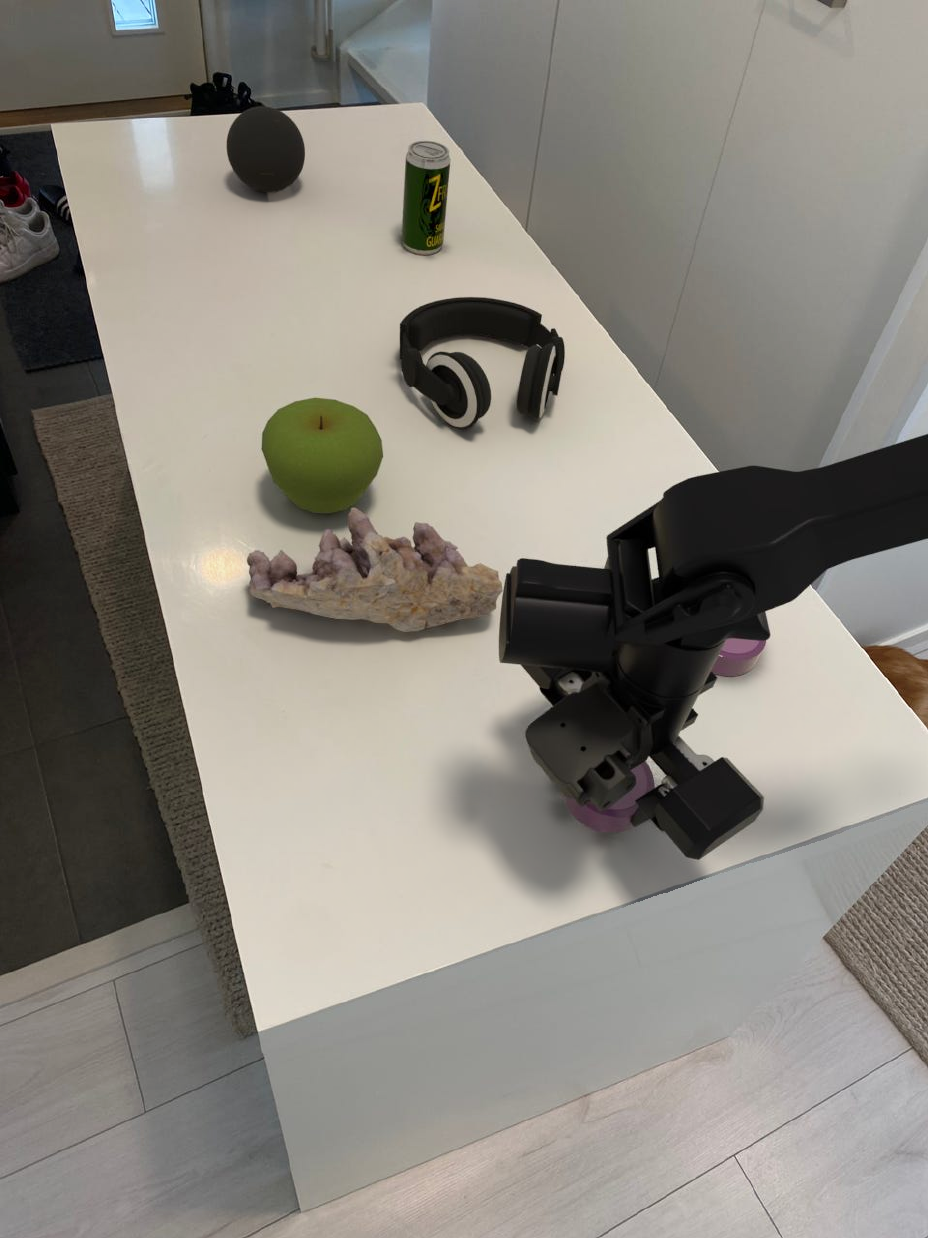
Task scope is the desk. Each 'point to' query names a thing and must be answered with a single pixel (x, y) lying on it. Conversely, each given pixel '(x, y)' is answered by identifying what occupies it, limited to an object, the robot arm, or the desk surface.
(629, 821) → the dish
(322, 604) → the mineral specimen
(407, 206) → the green energy drink can
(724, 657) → the dish
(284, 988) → the desk surface
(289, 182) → the speaker
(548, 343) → the headphones
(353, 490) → the apple
